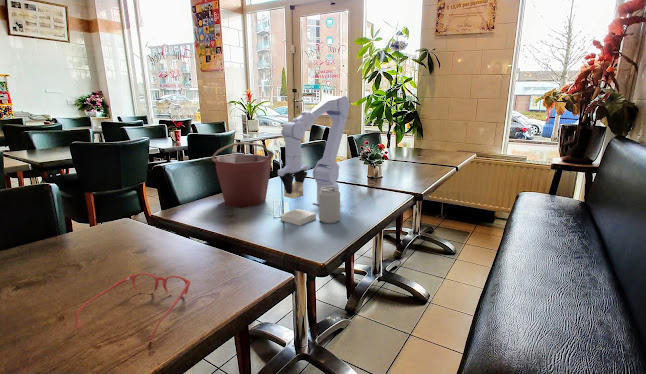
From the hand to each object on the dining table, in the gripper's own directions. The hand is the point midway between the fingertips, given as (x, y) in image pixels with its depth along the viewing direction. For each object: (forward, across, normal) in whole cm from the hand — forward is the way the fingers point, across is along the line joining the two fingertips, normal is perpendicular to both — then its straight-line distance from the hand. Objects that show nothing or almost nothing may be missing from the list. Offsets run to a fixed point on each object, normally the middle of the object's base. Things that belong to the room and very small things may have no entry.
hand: (293, 191), depth 130 cm
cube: (+2, 0, 0) cm, 2 cm away
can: (+9, -2, +16) cm, 18 cm away
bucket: (+9, +2, -26) cm, 28 cm away
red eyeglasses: (+10, +66, +18) cm, 70 cm away
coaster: (+8, +4, +6) cm, 11 cm away
